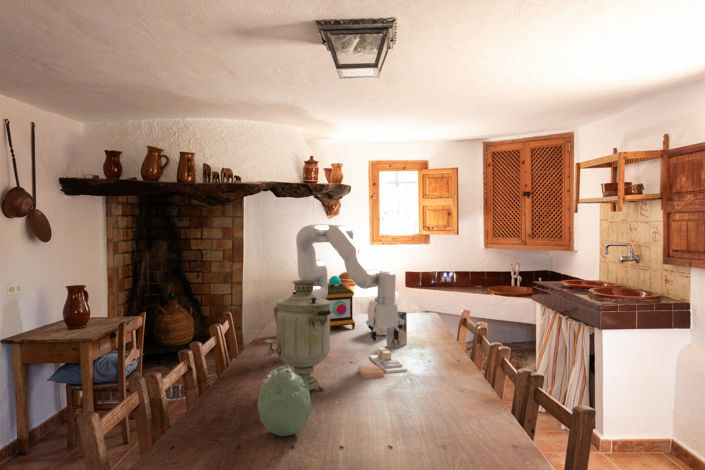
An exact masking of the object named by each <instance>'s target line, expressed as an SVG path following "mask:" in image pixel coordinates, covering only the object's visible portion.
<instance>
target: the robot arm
mask: <svg viewBox="0 0 705 470" xmlns="http://www.w3.org/2000/svg"><path fill="white" fill-rule="evenodd" d="M353 239H354V233H353V230H352V229H351V228H350V227H349V226H346V225H336V224H335V225H333V224H309V225H305V226H303V227H302V228H300V229H299V230H298V232H297V234H296V237H295V243H296V252H297V253H296V255H297V275H298V278H299V280H312V281H316V283H315V284H314V285H313V291H312V294H313V295H315V296H317V297H318V298H321V299H326V297H327V294H328V283H329V280H328V268H327V267H326V265H325V263H324V262H323V261H321V260H318V259H317V258H316V256H317V255H316V250H315V246H314V244H317V243H329V244H330V245H331V247H333V249H334V250H335V251H336V252H337V254H338V255H339V256H340V257H341V259H343V261H344V267H345V270H346V273H347V274H348V276H349V277H350V279H351V280H352V281H353V282H354V284H356V286H357V287H358V288H360V289H364V290H368V289H370V288H376V287H377V295H376V297H374V301H376V302H377V303H376V305H375V310H374V317H373V318H371V319H369V320H366V321H365V324H366V325H367V327H368V329H369V330H370V332H371V331H372V332H371V339H372V341H374V342H376V341H377V335H376V332H375V331H376V329H377V328H395V330H394V337H393V338H394V339H395V340H397V338H398V333H399V330H400V329H401V328H402V326H403V324H404V322H405V321H404V320H403V319H401V318H399V317H398V312H399V310H398V305H397V303H396V280H397V277H396V276H397V275H396V273H395V272H393V271H381V270H378V269H369V270H368V269H367V270H366V269H365V268H364V266H362V265H361V264H360V261H359V259H358V254H359V253H360V249H359V248H360V247H358V246H357V244H356V243H355V242H354V241H353ZM398 320H399V321H400V324H399V325H398ZM371 322H373V324H374V325H373V326H371V325H370V323H371Z"/></svg>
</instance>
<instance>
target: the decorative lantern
mask: <svg viewBox="0 0 705 470" xmlns="http://www.w3.org/2000/svg"><path fill="white" fill-rule="evenodd" d="M354 295H355V292H354V291H353V290H352V289H351V288H348V287H346V286H345V285H344V284H343V283H342V281H341V278H340V277H339V276H338V275H333V276H331V277H330V278H329V280H328V294H327V297H326V299H325V300H328V301H330V302H331V304H330V307H329V310H330V311H331V312H332V313H331V314H330V328H331V327H333V328H334V327H341V326H350V325H351V329H352V330H354V329H356V328H355V327H356V323H355V321H354V318H353V297H354Z"/></svg>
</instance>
